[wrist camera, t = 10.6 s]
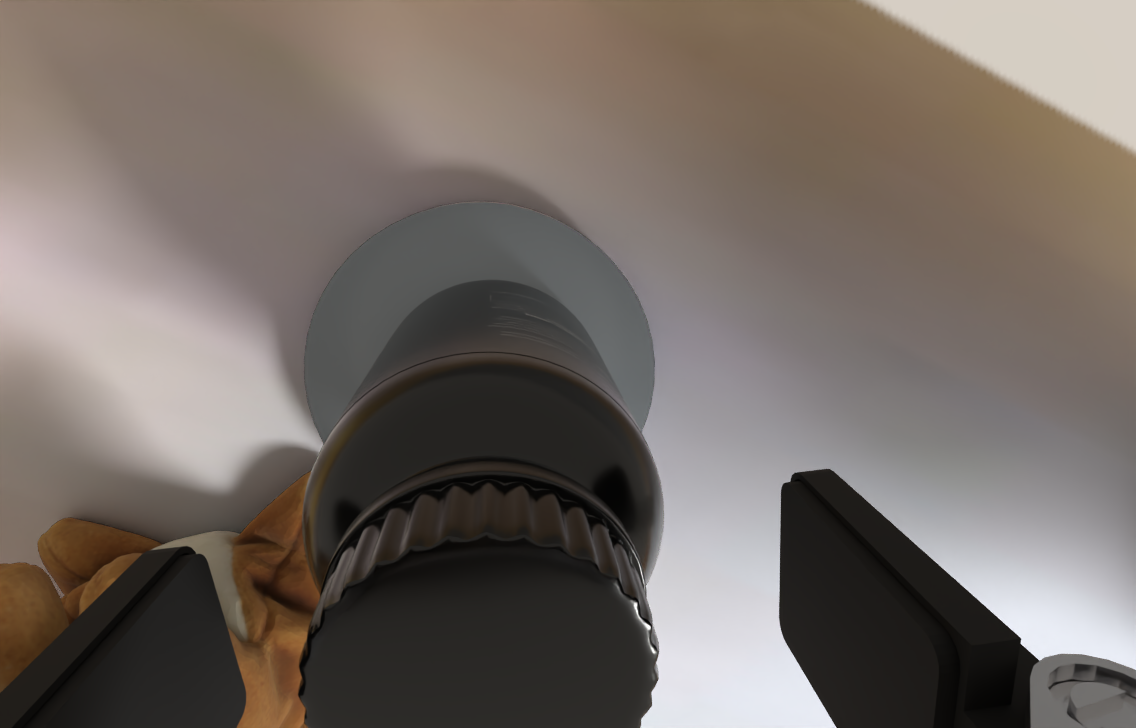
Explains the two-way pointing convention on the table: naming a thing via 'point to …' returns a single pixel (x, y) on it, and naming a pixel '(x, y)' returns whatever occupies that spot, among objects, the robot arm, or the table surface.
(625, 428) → the supplement bottle
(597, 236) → the table surface
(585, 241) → the slate plate
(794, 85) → the table surface
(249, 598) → the stuffed squirrel
